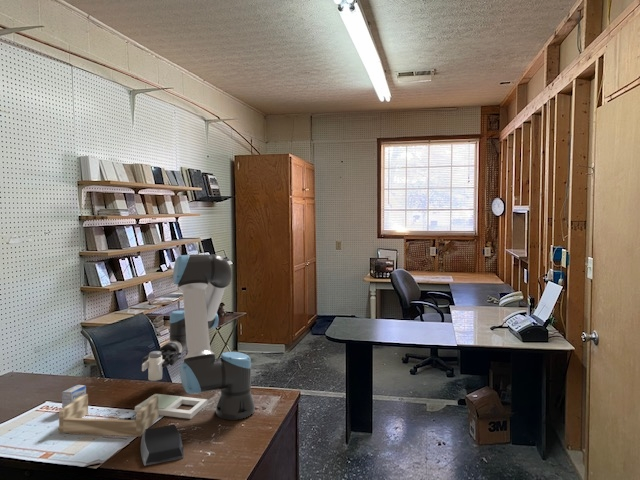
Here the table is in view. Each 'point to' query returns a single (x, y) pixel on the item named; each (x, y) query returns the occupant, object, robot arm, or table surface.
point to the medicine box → (72, 394)
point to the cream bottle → (154, 366)
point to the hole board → (175, 405)
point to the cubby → (105, 420)
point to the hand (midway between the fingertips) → (150, 367)
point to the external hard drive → (161, 445)
